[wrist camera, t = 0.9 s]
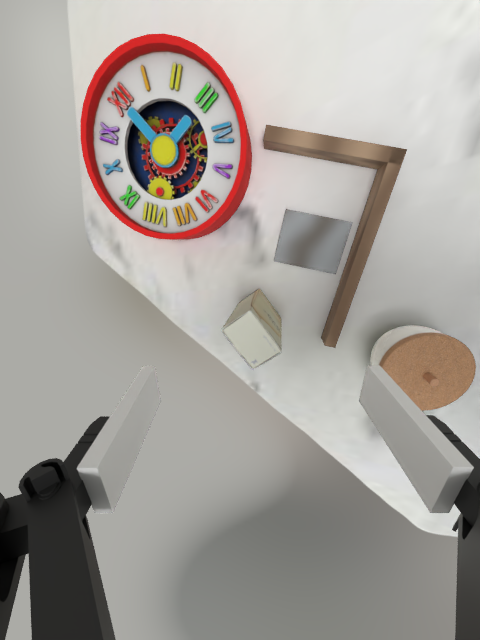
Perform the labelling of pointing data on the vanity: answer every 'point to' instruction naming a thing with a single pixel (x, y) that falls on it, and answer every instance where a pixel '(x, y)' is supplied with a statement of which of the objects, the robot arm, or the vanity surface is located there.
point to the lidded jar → (425, 364)
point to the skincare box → (254, 330)
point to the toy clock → (166, 138)
